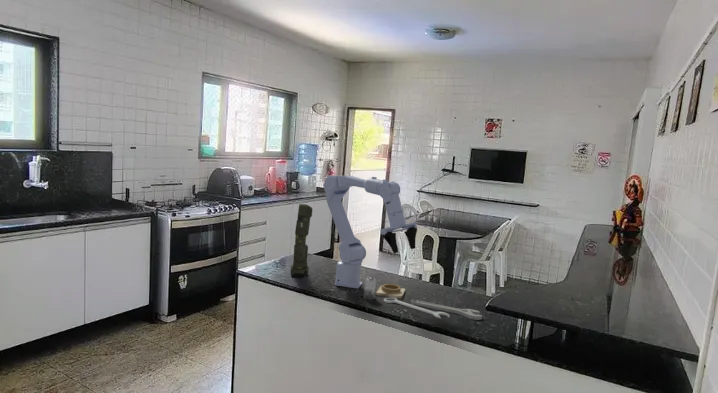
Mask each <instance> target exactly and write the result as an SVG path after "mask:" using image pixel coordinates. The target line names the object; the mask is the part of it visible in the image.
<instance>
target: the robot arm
mask: <svg viewBox="0 0 718 393" xmlns="http://www.w3.org/2000/svg"><path fill="white" fill-rule="evenodd" d="M352 187H357V188H362V189H364V191H365V192H366V193H369V194H371V195H376V196H380V197H381V199H382V201H383V202H384V207H385V211H386V214H387V217H388V218H387V219H388V222H389V226H388V227H384V228H381V229H380V232H381V233H380V234H381V236H382V237H383V239H384V240H385V241H386V242H387V244H388V245H389V247H390V248H391V250H392V252H393V254H396V253H399V248H398V245H397V233H398V232H401V231H404V234H405V236H406V239H407V241H408V245H409V249H411V250H414V249H416V239H417V237H416V236H417V232H418V225H417V221H415V222H409V223H407V222H406V219H405V214H404V210H403V207H402V202H401V199H400V194H401V186H400V184H399V183H397V182H395V181H394V180H393V181H388V180H387V179H379V178H377V177H376V176H371V177H369V178H367V179H363V178H360V177H356V176H353V175H346V174H345V175H343V174H342V175H332V174H330V175H327V176H326V177H325V179H324V182H323V189H324V192H325V198H326V199H325V200H326V203H327V206H328V208H329V212H330V214H331V217H332V219H333V223H334V225H335V227H336V231H337V234H338V236H339V238H340V243H339V245H338V247H337V248H338V251H339V259H340V260H339V261H337V264H336V268H335V281H334V286H338V287H339V286H340V287H346V288H351V289H352V288H353V289H359V288H360V286H361V285H362V284H363V282H362V281H361V274H362V271H361V270H362V263H363V260H365V259H366V257H367V250H366V248H365V246H364V245H363V244H362V243H361V240H360V239H359V238H357V237H356V236H355V234H354V231H353V230H352V229H353V228H352V226H351V224H350V221H349V218H348V215H347V213H346V210H345V207H344V205H343V203H342V199H343V198H344V196H345V195H346V194H347V193H348V191H349V190H350V188H352ZM396 232H397V233H396Z"/></svg>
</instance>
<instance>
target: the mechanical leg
mask: <svg viewBox="0 0 718 393" xmlns="http://www.w3.org/2000/svg"><path fill="white" fill-rule="evenodd" d="M312 216H313V207H312V206H310V205H309V204H306V203H299V205H298V212H297V219H296V224H295V230H294V231H295V233H294V235H295V237H294V241H295V242H294V245H293V248H294V249H293V262H292V265H291V266H290V275H291V278H293V279H294V278H296V279H305V278H306V277H307V276H309V266H308V253H309V246H308V245H307V244H306V241H307V237H308V235H309V231H310V224H311V218H312Z"/></svg>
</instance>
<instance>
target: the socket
mask: <svg viewBox="0 0 718 393" xmlns="http://www.w3.org/2000/svg"><path fill="white" fill-rule="evenodd" d="M405 292H406V288H401V286H400V285H398V284H393V283H385V284H384V283H383V284H382V285H379V288H377V290H376V291H375V296H380V297H385V298H396V299H398V300H399V299H400V300H401V299H403V297H404V294H405Z"/></svg>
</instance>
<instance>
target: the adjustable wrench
mask: <svg viewBox="0 0 718 393" xmlns="http://www.w3.org/2000/svg"><path fill="white" fill-rule="evenodd" d="M410 304H411V305H414V306H417V307H422V308H426V309H427V308H428V309H433V310H437V311H441V312H445V313H447V312H448V313H451V314H452V313H453V314H457V315H460V316H462V317H465V318H467V319H469V320H473V321H474V320H476V321H478V320H479V321H480V320H483V315H482V314H481V311H479V310H476V309H470V308H457V307H452V306H447V305H444V304H438V303H433V302H428V301H424V300H418V299H411V300H410Z"/></svg>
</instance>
